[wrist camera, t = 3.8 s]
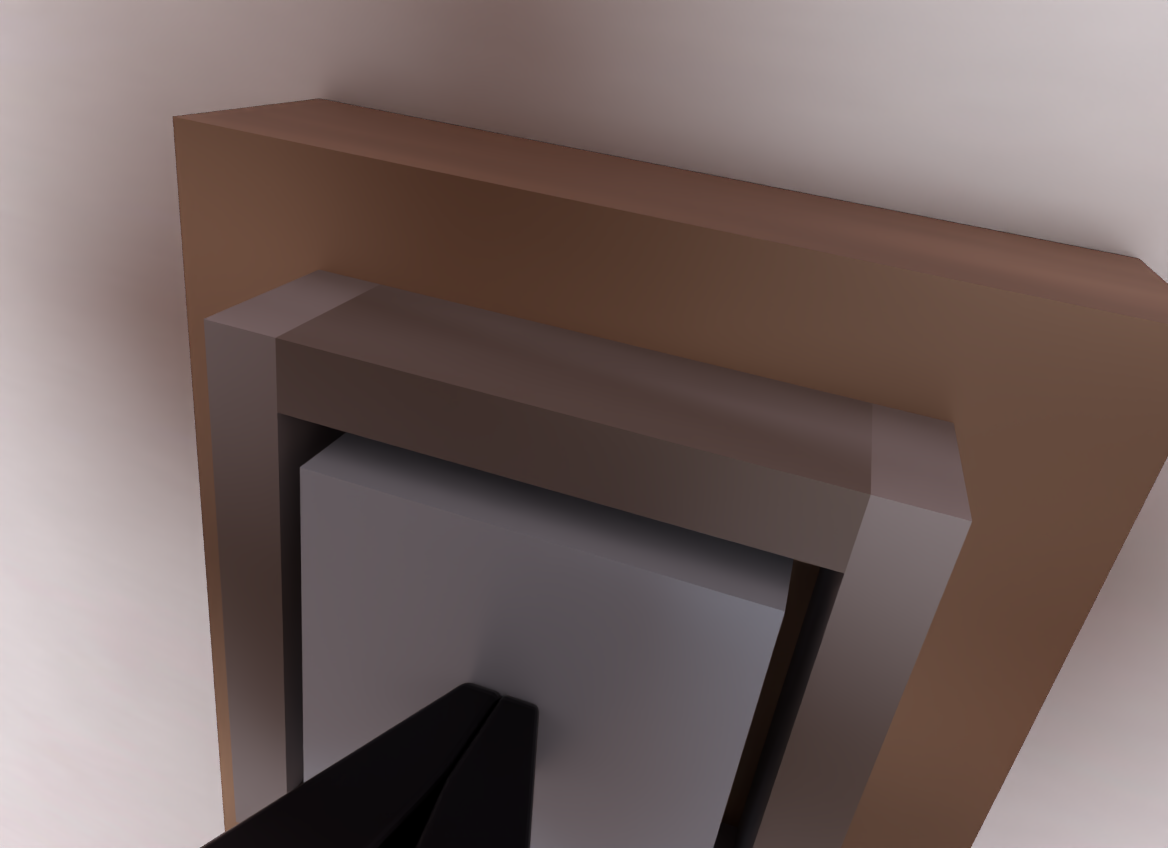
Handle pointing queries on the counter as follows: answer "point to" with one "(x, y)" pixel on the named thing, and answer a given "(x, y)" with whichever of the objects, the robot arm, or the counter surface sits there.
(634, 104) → the counter surface
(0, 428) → the counter surface
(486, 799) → the robot arm
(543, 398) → the keypad board
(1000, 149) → the counter surface
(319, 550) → the slate key
